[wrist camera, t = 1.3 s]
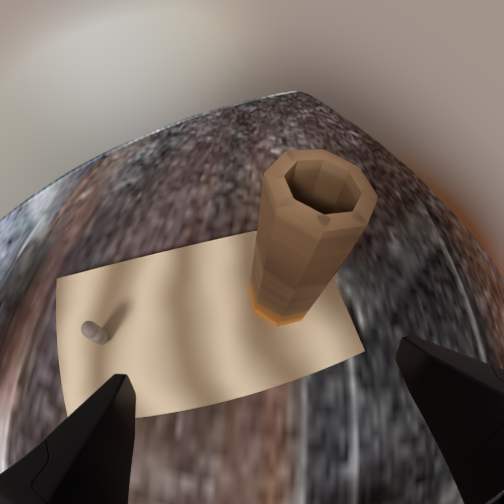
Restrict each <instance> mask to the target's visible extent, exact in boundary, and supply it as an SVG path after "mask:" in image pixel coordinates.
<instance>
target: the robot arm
mask: <svg viewBox="0 0 504 504" xmlns="http://www.w3.org/2000/svg"><path fill="white" fill-rule="evenodd" d="M395 358H396V363H397V365H398V367H399V369H400V371H401V374H402V376H403V378H404V380H405V383H406V385H407V387H408V390H409V392H410V394H411V396H412V398H413V400H414V401H415V403H416V405H417V407H418V409H419V410H420V412H421V414H422V416H423V418H424V420H425V421H426V423H427V425H428V427H429V429H430V431H431V433H432V435H433V437H434V439H435V441H436V443H437V445H438V447H439V449H440V451H441V453H442V455H443V457H444V459H445V461H446V463H447V465H448V467H449V469H450V471H451V474H452V475H453V478H454V481H455V483H456V485H457V487H458V490H459V492H460V494H461V497H462V499H463V502H464V504H485V503H486V502H488V501H489V500H491V499H492V498H494V497H495V496H496V495H498V494H499V493H500V492H502V491H503V490H504V369H501V368H498V367H496V366H493V365H490V364H487V363H485V362H482V361H479V360H476V359H474V358H471V357H468V356H466V355H463V354H460V353H458V352H455V351H452V350H450V349H447V348H444V347H442V346H439V345H436V344H434V343H431V342H429V341H426V340H423V339H421V338H418V337H416V336H413V335H409V336H406V337H403V338H402V339H401V340H400V343H399V346H398V349H397V352H396V357H395ZM135 413H136V393H135V390H134V388H133V386H132V383H131V381H130V379H129V377H128V375H127V374H114V375H113V376H111V377H110V378H109V379H108V380H107V381H106V382H105V383H104V384H103V385H102V386H101V387H100V388H98V389H97V390H96V391H95V392H94V393H93V394H92V395H91V396H90V397H89V398H88V399H87V400H86V401H84V402H83V403H82V404H81V405H80V406H79V407H78V408H77V409H76V410H75V411H74V412H73V413H72V414H70V415H69V416H68V417H67V418H66V419H65V420H64V421H63V422H62V423H61V424H60V425H59V426H58V427H57V428H55V429H54V430H53V431H52V432H51V433H50V434H49V435H48V436H47V437H46V439H44V440H42V441H41V442H40V443H39V444H38V445H37V446H36V447H35V448H34V449H33V450H31V451H30V452H29V453H28V454H27V455H25V456H24V457H23V458H22V459H20V460H19V461H18V462H16V463H15V464H14V465H12V466H11V467H9V468H8V469H7V470H5V471H4V472H3V473H1V474H0V504H128V494H129V482H130V473H131V464H132V455H133V448H134V440H135ZM492 504H504V492H503V493H502V494H501V495H500V496H499V497H498V498H497V499H496V500H495V501H494V502H493V503H492Z"/></svg>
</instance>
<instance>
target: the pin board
mask: <svg viewBox="0 0 504 504" xmlns="http://www.w3.org/2000/svg"><path fill="white" fill-rule="evenodd" d="M256 234H257V230H256V231H252V232H247V233H243V234H238V235H234V236H229V237H225V238H220V239H216V240H212V241H207V242H203V243H199V244H194V245H190V246H186V247H182V248H177V249H173V250H169V251H165V252H161V253H157V254H152V255H148V256H144V257H140V258H136V259H132V260H128V261H124V262H120V263H116V264H112V265H108V266H104V267H100V268H96V269H92V270H89V271H85V272H81V273H77V274H73V275H69V276H66V277H62V278H58V279H57V290H56V322H57V343H58V356H59V366H60V374H61V381H62V388H63V394H64V400H65V405H66V410H67V415H68V416H69V415H70V414H72V413H73V412H74V411H75V410H76V409H77V408H78V407H79V406H80V405H81V404H82V403H83V402H84V401H86V400H87V399H88V398H89V397H90V396H91V395H92V394H93V393H94V392H95V391H96V390H97V389H98V388H100V387H101V386H102V385H103V384H104V383H105V382H106V381H107V380H108V379H109V378H110V377H111V376H113V375H114V374H127V375H128V377H129V379H130V381H131V383H132V386H133V388H134V390H135V393H136V413H135V418H140V417H147V416H154V415H161V414H167V413H173V412H178V411H184V410H189V409H194V408H198V407H203V406H207V405H212V404H216V403H220V402H224V401H228V400H232V399H236V398H239V397H243V396H246V395H250V394H253V393H257V392H260V391H263V390H266V389H270V388H273V387H276V386H279V385H282V384H285V383H288V382H291V381H293V380H296V379H299V378H302V377H304V376H307V375H310V374H312V373H315V372H317V371H320V370H322V369H325V368H327V367H330V366H332V365H335V364H337V363H339V362H342V361H344V360H346V359H349V358H351V357H353V356H355V355H357V354H359V353H362V352H364V348H363V346H362V343H361V341H360V338H359V336H358V334H357V331H356V329H355V327H354V324H353V322H352V320H351V317H350V315H349V313H348V310H347V308H346V306H345V304H344V301H343V299H342V297H341V295H340V292H339V290H338V288H337V286H336V284H335V282H334V279H333V278H332V279H331V281H330V282H329V283H328V285H327V286H326V288H325V289H324V290H323V292H322V293H321V295H320V296H319V297H318V299H317V300H316V301H315V303H314V304H313V306H312V307H311V308H310V310H309V311H308V312H307V314H306V315H305V316H304V318H303V319H302V320H301V321H299V322H295V323H290V324H286V325H281V326H277V327H276V326H275V325H273V324H271V323H270V322H268V321H266V320H265V319H263V318H262V317H260V316H258V315H257V314H255V313H254V308H253V304H252V300H251V296H250V291H249V288H250V281H251V273H252V265H253V258H254V250H255V242H256Z"/></svg>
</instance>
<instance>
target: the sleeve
mask: <svg viewBox="0 0 504 504" xmlns="http://www.w3.org/2000/svg"><path fill="white" fill-rule="evenodd" d="M377 199H378V196H377V194H376V193H375V191H374V189H373V188H372V186H371V185H370V183H369V182H368V180H367V178H366V177H365V175H364V174H363V172H362V171H361V169H360V168H359V167H358V166H356V165H354V164H352V163H350V162H348V161H346V160H344V159H342V158H340V157H338V156H336V155H334V154H332V153H330V152H328V151H325V150H292V151H285V152H284V153H283V154H282V155H281V156H280V157H279V158H278V159H277V160H276V161H275V162H274V163H273V164H272V165H271V166H270V167H269V168H268V169H267V171H266V172H265V173H264V180H263V188H262V196H261V203H260V211H259V219H258V227H257V234H256V242H255V250H254V258H253V265H252V273H251V281H250V288H249V291H250V296H251V300H252V304H253V308H254V313H255V314H257V315H258V316H260V317H262V318H263V319H265V320H266V321H268V322H270V323H271V324H273V325H275V326H276V327H277V326H281V325H286V324H290V323H295V322H299V321H301V320H302V319H303V318H304V316H305V315H306V314H307V312H308V311H309V310H310V308H311V307H312V306H313V304H314V303H315V301H316V300H317V299H318V297H319V296H320V295H321V293H322V292H323V290H324V289H325V288H326V286H327V285H328V283H329V282H330V281H331V279H332V278H333V276H334V275H335V273H336V272H337V271H338V269H339V268H340V266H341V265H342V263H343V262H344V260H345V259H346V257H347V256H348V254H349V253H350V251H351V250H352V248H353V247H354V245H355V244H356V242H357V241H358V239H359V238H360V236H361V234H362V233H363V231H364V230H365V228H366V227H367V224H368V222H369V219H370V217H371V214H372V212H373V209H374V207H375V204H376V202H377Z"/></svg>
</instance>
